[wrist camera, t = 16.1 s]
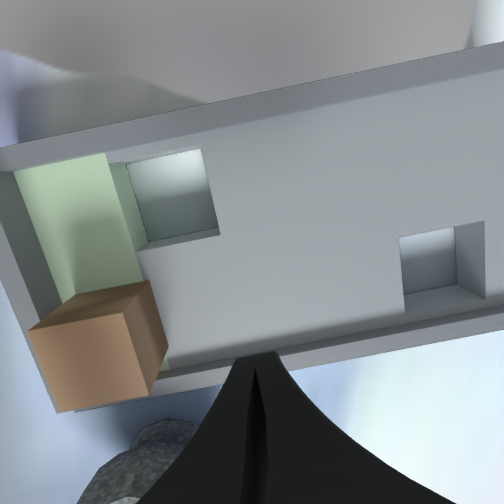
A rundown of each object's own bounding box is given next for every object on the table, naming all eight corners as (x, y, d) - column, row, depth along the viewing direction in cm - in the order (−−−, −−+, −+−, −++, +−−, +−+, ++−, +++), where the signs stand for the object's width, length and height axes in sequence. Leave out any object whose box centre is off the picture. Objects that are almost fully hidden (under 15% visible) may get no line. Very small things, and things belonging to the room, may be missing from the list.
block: (149, 279, 17) (122, 312, 13) (168, 346, 18) (148, 395, 14) (75, 294, 17) (26, 331, 13) (98, 360, 18) (60, 411, 14)
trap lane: (475, 60, 17) (555, 24, 13) (481, 301, 21) (545, 336, 16) (19, 156, 18) (-53, 152, 13) (100, 375, 21) (63, 429, 17)
